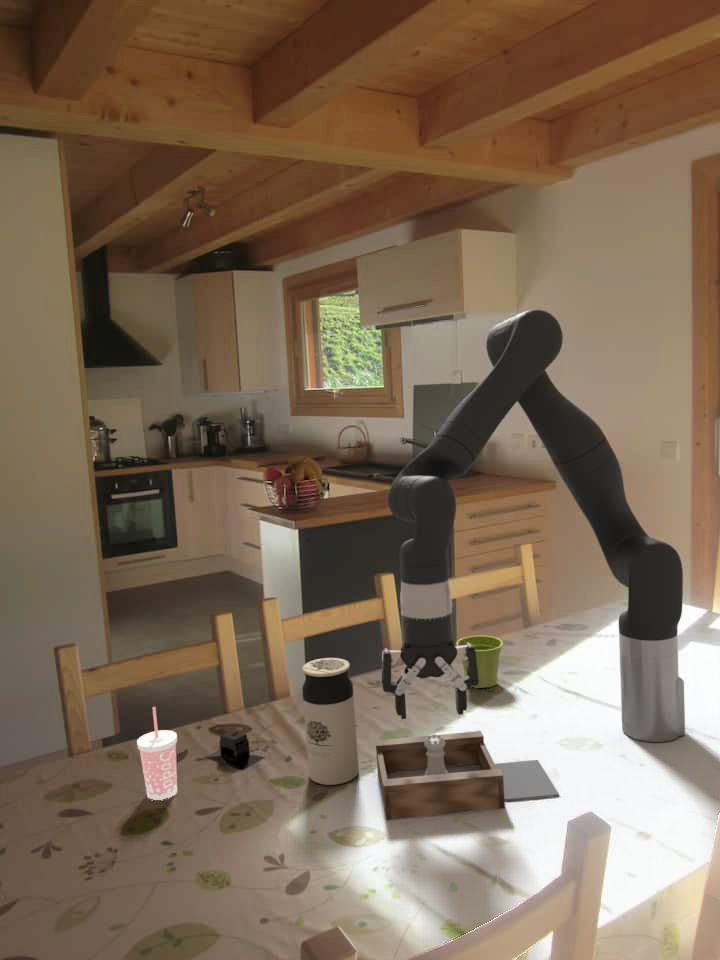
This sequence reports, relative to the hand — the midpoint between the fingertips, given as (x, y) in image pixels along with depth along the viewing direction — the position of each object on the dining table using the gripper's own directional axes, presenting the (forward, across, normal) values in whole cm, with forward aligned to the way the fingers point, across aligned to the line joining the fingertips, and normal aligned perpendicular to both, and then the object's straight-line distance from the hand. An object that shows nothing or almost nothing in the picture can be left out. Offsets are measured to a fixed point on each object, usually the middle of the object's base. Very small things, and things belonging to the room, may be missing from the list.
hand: (431, 714), depth 117 cm
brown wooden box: (+12, 0, 0) cm, 12 cm away
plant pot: (+12, -16, -40) cm, 45 cm away
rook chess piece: (+12, 0, 0) cm, 12 cm away
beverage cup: (+12, +42, -6) cm, 44 cm away
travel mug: (+12, +15, -7) cm, 21 cm away
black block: (+13, +32, -16) cm, 38 cm away
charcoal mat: (+11, -13, 0) cm, 18 cm away
